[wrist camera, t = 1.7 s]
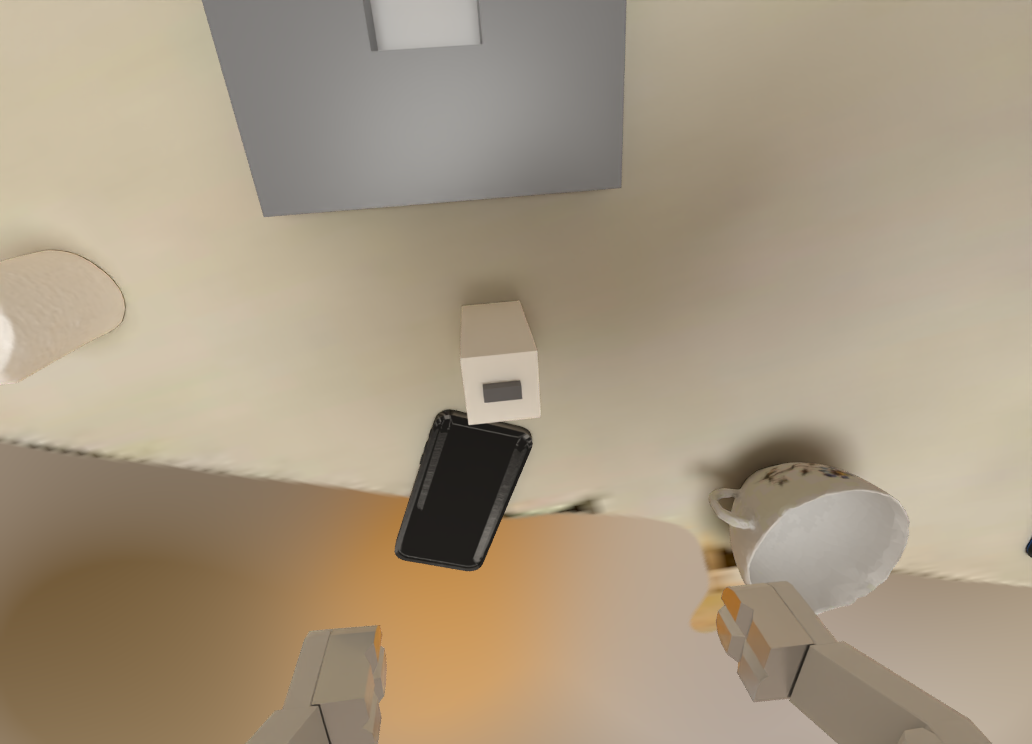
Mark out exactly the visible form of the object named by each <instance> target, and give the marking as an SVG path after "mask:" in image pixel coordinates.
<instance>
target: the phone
mask: <svg viewBox="0 0 1032 744" xmlns="http://www.w3.org/2000/svg"><path fill="white" fill-rule="evenodd" d="M532 444H533V443H532V438H531V434H530V432H529V431H528V430H527V429H525V428H523V427H520V426H516V425H512V424H508V423H504V422H493V423H483V424H474V425H469V424H468V417H467V413H463V412H459V411H455V410H444V411H442V412H440V413H439V414H438V415H437V416H436V418H435V421H434V424H433V427H432V430H431V431H430V434H429V440H428V442H426V446H425V449H424V455H423V454H422V457H421V461H420V464H421V465H420V468H419V471H418V474H417V477H416V481H415V484H414V487H413V490H412V493H411V496H410V498H409V501H408V504H407V508H406V511H405V514H404V517H403V520H402V524H401V527H400V530H399V533H398V536H397V539H396V545H395V554H396V556H397V557H398V558H400V559H402V560H405V561H410V562H416V563H423V564H428V565H434V566H440V567H446V568H452V569H457V570H463V571H474V570H477V569H478V568H480V567H481V566H482V564H483V562H484V560H485V557H486V555H487V552H488V550H489V548H490V546H491V543H492V541H493V538H494V536H495V534H496V531H497V529H498V526H499V524H500V522H501V519H502V517H503V515H504V512H505V510H506V508H507V505H508V503H509V500H510V498H511V496H512V493H513V491H514V489H515V486H516V484H517V481H518V479H519V477H520V474H521V472H522V470H523V467H524V465H525V462H526V460H527V458H528V455H529V453H530V451H531V448H532Z"/></svg>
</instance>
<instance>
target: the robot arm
mask: <svg viewBox="0 0 1032 744" xmlns="http://www.w3.org/2000/svg"><path fill="white" fill-rule="evenodd" d="M721 599H722V600H723V602H724V604H725V605H724V606H723V607H722V608H721V609H720V610H719V611H718V614H717V619H716V625H717V632H718V635H719V638H720V641H721V644H722V645H723V647H724V649H725V651H726V653H727V654H728V655H729V656H730V657H732V658H733V659H734V660H736V661H737V662H738V671H737V673H738V675H739V677H740V679H741V681H742V682H743V684H744V686H745V688H746V690H747V691H748V693H749V695H750V697H751V699H752V700H753V702H760V701H770V700H780V699H790V700H789V701H790V702H791V703H792V704H793V705H795V706H796V707H797V708H798V709H799V710H800V711H801V712H802V713H804V714H805V715H806V716H807V717H808V718H810V720H812V721H813V722H814V723H815V724H816V725H817V726H818V727H820V728H821V729H822V730H823V731H824V732H825V733H826V734H827V735H829V736H830V737H831V738H832V739H833V740H834V741H835V742H837V743H838V744H992V743H991V742H990V741H989V740H988V739H987V737H986V736H985V735H984V734H983V733H982V732H981V731H980V730H979V729H978V728H977V727H976V726H975V724H974V723H973V722H972V721H971V720H970V719H969V718H967V717H965V716H964V715H962V714H960V713H959V712H957V711H956V710H954V709H952V708H951V707H949V706H948V705H946V704H944V703H943V702H941V701H939V700H938V699H936V698H935V697H933V696H931V695H930V694H928V693H926V692H925V691H923V690H922V689H920V688H919V687H917V686H915V685H914V684H912V683H910V682H909V681H907V680H906V679H904V678H902V677H901V676H899V675H897V674H896V673H894V672H893V671H891V670H889V669H888V668H886V667H884V666H883V665H881V664H880V663H878V662H876V661H875V660H873V659H872V658H870V657H868V656H866V655H865V654H864V653H862V652H860V651H859V650H857V649H856V648H854V647H852V646H851V645H849V644H847V643H846V642H844V641H841V642H838V641H837V640H836V639H835V638H834V636H833V635H832V634H831V633H830V631H829V630H828V629H827V628H826V626H825V625H824V624H823V623H822V621H821V620H820V619H819V618H818V616H817V615H816V614H815V613H814V611H813V610H812V609H811V607H810V606H809V605H808V604H807V602H806V601H805V600H804V599H803V597H802V596H801V595H800V594H799V592H798V591H797V590H796V589H795V587H794V586H793V585H792V584H791V583H789V582H788V581H779V582H770V583H757V584H749V585H741V586H732V587H727V588H726V589H724V590H723V593H722V597H721ZM381 639H382V632H381V628H380V625H377V626H364V627H351V628H338V629H327V630H316V631H310V632H309V633H308V634H307V636H306V637H305V639H304V642H303V645H302V649H301V652H300V655H299V658H298V661H297V664H296V668H295V671H294V674H293V677H292V680H291V684H290V687H289V690H288V693H287V696H286V699H285V703H284V706H283V709H282V710H277V711H274V713H272V715H271V716H270V717H269V718H268V719H267V720H266V721H265V722H264V723H263V725H262V726H261V727H260V728H259V729H258V730H257V731H256V732H255V734H254V735H253V736H252V737H251V738H250V739H249V740H248V741H247V743H246V744H378V738H379V731H380V724H381V714H380V709H379V702H380V701H381V699H382V698H383V697H384V693H385V685H386V655H385V649H384V648H383V647H382V646H381Z"/></svg>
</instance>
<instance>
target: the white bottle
mask: <svg viewBox="0 0 1032 744" xmlns="http://www.w3.org/2000/svg"><path fill="white" fill-rule="evenodd" d="M124 312H125V304H124V299H123V296H122V293H121V291H120V289H119V288H118V286H117V285H116V284H115V282H114V281H113V280H112V279H111V278H110V277H109V276H108V275H107V274H106V273H105V272H104V271H102V270H101V269H100V268H98V267H97V266H96V265H94V264H93V263H92V262H90V261H88V260H86V259H85V258H83V257H80V256H78V255H76V254H73V253H69V252H64V251H55V250H45V251H40V252H35V253H31V254H27V255H23V256H18V257H14V258H11V259H7V260H3V261H0V385H3V384H13V383H17V382H20V381H22V380H24V379H25V378H27V377H29V376H30V375H32V374H34V373H36V372H37V371H39V370H41V369H43V368H45V367H46V366H48V365H49V364H51V363H53V362H54V361H56V360H58V359H60V358H62V357H64V356H65V355H67V354H69V353H71V352H72V351H74V350H76V349H78V348H80V347H81V346H83V345H85V344H87V343H88V342H90V341H92V340H94V339H96V338H98V337H100V336H102V335H104V334H106V333H108V332H110V331H112V330H113V329H115V328H116V327H117V326H118V325H119V324H120V323H121V322H122V319H123V316H124Z"/></svg>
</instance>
